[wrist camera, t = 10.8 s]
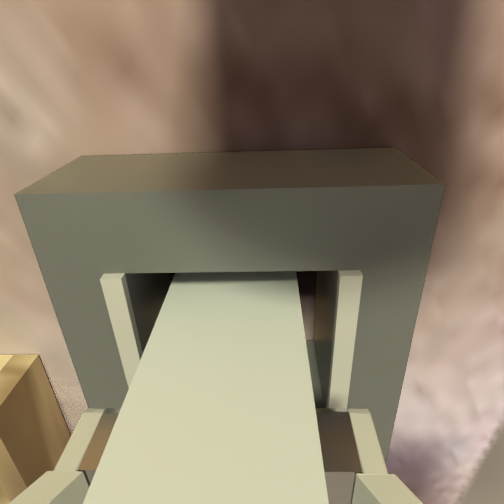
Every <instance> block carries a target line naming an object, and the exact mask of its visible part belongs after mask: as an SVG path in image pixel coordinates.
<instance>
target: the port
mask: <svg viewBox="0 0 504 504" xmlns="http://www.w3.org/2000/svg"><path fill="white" fill-rule="evenodd" d="M444 187H445V184H444V183H443V182H441V181H440V180H439V179H437V178H436V177H434V176H433V175H432V174H430V173H429V172H428V171H426V170H425V169H424V168H422V167H421V166H420V165H418V164H417V163H416V162H414V161H413V160H412V159H410V158H409V157H408V156H406V155H405V154H404V153H402V152H401V151H400V150H398V149H397V148H396V147H388V148H352V149H315V150H279V151H243V152H207V153H171V154H135V155H99V156H81V157H79V158H77V159H75V160H74V161H72V162H70V163H68V164H67V165H65V166H63V167H61V168H60V169H58V170H56V171H54V172H53V173H51V174H49V175H47V176H46V177H44V178H42V179H40V180H39V181H37V182H35V183H33V184H32V185H30V186H28V187H26V188H25V189H23V190H21V191H19V192H18V193H16V194H14V195H15V198H16V201H17V204H18V206H19V209H20V212H21V215H22V218H23V221H24V224H25V227H26V230H27V232H28V235H29V238H30V241H31V244H32V247H33V250H34V253H35V255H36V258H37V261H38V264H39V267H40V270H41V273H42V276H43V278H44V281H45V284H46V287H47V290H48V293H49V296H50V299H51V302H52V304H53V307H54V310H55V313H56V316H57V319H58V322H59V325H60V327H61V330H62V333H63V336H64V339H65V342H66V345H67V348H68V350H69V353H70V356H71V359H72V362H73V365H74V368H75V371H76V374H77V376H78V379H79V382H80V385H81V388H82V391H83V394H84V397H85V399H86V402H87V405H88V408H117V409H121V407H122V405H123V402H124V400H125V397H126V395H127V392H128V390H129V387H130V385H131V382H132V380H133V377H134V375H135V372H136V370H137V367H138V365H139V362H140V360H141V357H142V355H143V352H144V350H145V347H146V345H147V342H148V340H149V337H150V335H151V332H152V330H153V327H154V325H155V322H156V320H157V317H158V315H159V312H160V310H161V307H162V305H163V302H164V300H165V297H166V295H167V292H168V290H169V288H170V279H169V273H189V272H263V271H317V281H316V299H315V318H314V336H313V340H306V346H307V353H308V360H309V367H310V374H311V381H312V388H313V395H314V402H315V409H317V408H346V409H368V410H369V412H370V413H371V417H372V420H373V424H374V427H375V430H376V434H377V437H378V441H379V444H380V447H381V451H382V454H383V457H384V461H386V460H387V455H388V450H389V446H390V441H391V436H392V432H393V427H394V422H395V418H396V413H397V408H398V403H399V399H400V394H401V389H402V385H403V380H404V375H405V371H406V366H407V361H408V356H409V352H410V347H411V342H412V338H413V333H414V328H415V324H416V319H417V314H418V310H419V305H420V300H421V295H422V291H423V286H424V281H425V277H426V272H427V267H428V263H429V258H430V253H431V248H432V244H433V239H434V234H435V230H436V225H437V220H438V216H439V211H440V206H441V201H442V197H443V192H444Z"/></svg>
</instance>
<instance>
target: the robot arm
mask: <svg viewBox="0 0 504 504" xmlns="http://www.w3.org/2000/svg"><path fill="white" fill-rule="evenodd" d="M120 410H121V409H117V408H88V409H87V410H86V411H85V412H84V413H83V414H82V415H81V417H80V419H79V421H78V423H77V425H76V427H75V429H74V431H73V433H72V435H71V437H70V439H69V441H68V443H67V445H66V447H65V449H64V451H63V453H62V455H61V457H60V459H59V461H58V463H57V465H56V467H55V469H54V471H47V472H45V473H44V474H43V475H42V476H41V477H40V478H38V479H37V480H36V481H35V482H34V483H32V484H31V485H30V486H29V487H28V488H26V489H25V490H24V491H23V492H22V493H21V494H19V495H18V496H17V497H16V498H15V499H13V500H12V501H11V502H10V503H9V504H83V502H84V499H85V497H86V494H87V492H88V489H89V487H90V484H91V482H92V480H93V477H94V475H95V472H96V470H97V467H98V465H99V462H100V460H101V457H102V455H103V452H104V450H105V447H106V445H107V442H108V440H109V437H110V435H111V432H112V430H113V427H114V425H115V422H116V420H117V417H118V415H119V412H120ZM316 416H317V424H318V431H319V438H320V445H321V452H322V459H323V466H324V473H325V480H326V487H327V494H328V501H329V504H423V503H422V502H421V501H420V500H419V499H418V498H417V497H416V496H415V495H414V493H413V492H412V491H411V490H410V489H409V488H408V487H407V486H406V485H405V484H404V483H403V482H402V481H401V480H400V479H399V478H398V477H397V476H396V475H395V474H388V471H387V468H386V464H385V461H384V457H383V454H382V451H381V447H380V444H379V441H378V437H377V434H376V430H375V427H374V424H373V420H372V417H371V413H370V412H369V410H368V409H346V408H317V409H316Z"/></svg>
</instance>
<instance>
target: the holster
mask: <svg viewBox="0 0 504 504" xmlns="http://www.w3.org/2000/svg"><path fill="white" fill-rule="evenodd" d="M70 437H71V435H70V433H69V430H68V428H67V425H66V423H65V420H64V418H63V415H62V413H61V410H60V408H59V405H58V403H57V400H56V398H55V395H54V393H53V390H52V388H51V385H50V383H49V380H48V378H47V375H46V373H45V370H44V368H43V365H42V363H41V360H40V358H39V355H0V504H9V503H10V502H11V501H12V500H13V499H15V498H16V497H17V496H18V495H19V494H21V493H22V492H23V491H24V490H25V489H26V488H28V487H29V486H30V485H31V484H32V483H34V482H35V481H36V480H37V479H38V478H40V477H41V476H42V475H43V474H44V473H45V472H47V471H54V469H55V467H56V465H57V463H58V461H59V459H60V457H61V455H62V453H63V451H64V449H65V447H66V445H67V443H68V441H69V439H70Z"/></svg>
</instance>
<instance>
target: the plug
mask: <svg viewBox="0 0 504 504" xmlns="http://www.w3.org/2000/svg"><path fill="white" fill-rule="evenodd" d="M83 504H329V501H328V494H327V487H326V480H325V473H324V466H323V459H322V452H321V445H320V438H319V431H318V424H317V416H316V409H315V402H314V395H313V388H312V381H311V374H310V367H309V360H308V353H307V346H306V339H305V332H304V324H303V317H302V310H301V303H300V296H299V289H298V282H297V275H296V271H263V272H189V273H175V275H174V278H173V280H172V283H171V285H170V288H169V290H168V292H167V295H166V297H165V300H164V302H163V305H162V307H161V310H160V312H159V315H158V317H157V320H156V322H155V325H154V327H153V330H152V332H151V335H150V337H149V340H148V342H147V345H146V347H145V350H144V352H143V355H142V357H141V360H140V362H139V365H138V367H137V370H136V372H135V375H134V377H133V380H132V382H131V385H130V387H129V390H128V392H127V395H126V397H125V400H124V402H123V405H122V407H121V410H120V412H119V415H118V417H117V420H116V422H115V425H114V427H113V430H112V432H111V435H110V437H109V440H108V442H107V445H106V447H105V450H104V452H103V455H102V457H101V460H100V462H99V465H98V467H97V470H96V472H95V475H94V477H93V480H92V482H91V484H90V487H89V489H88V492H87V494H86V497H85V499H84V502H83Z"/></svg>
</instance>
